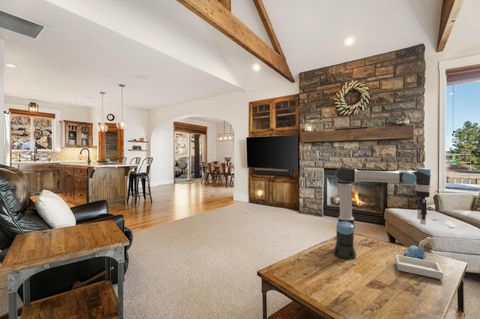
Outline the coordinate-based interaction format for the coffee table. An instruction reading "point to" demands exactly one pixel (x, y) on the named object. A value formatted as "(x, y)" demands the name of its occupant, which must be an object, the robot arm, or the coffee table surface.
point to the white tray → (419, 267)
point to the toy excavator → (418, 249)
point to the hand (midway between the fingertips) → (421, 221)
